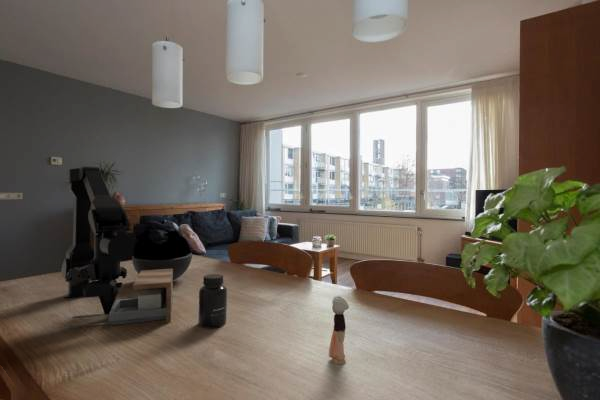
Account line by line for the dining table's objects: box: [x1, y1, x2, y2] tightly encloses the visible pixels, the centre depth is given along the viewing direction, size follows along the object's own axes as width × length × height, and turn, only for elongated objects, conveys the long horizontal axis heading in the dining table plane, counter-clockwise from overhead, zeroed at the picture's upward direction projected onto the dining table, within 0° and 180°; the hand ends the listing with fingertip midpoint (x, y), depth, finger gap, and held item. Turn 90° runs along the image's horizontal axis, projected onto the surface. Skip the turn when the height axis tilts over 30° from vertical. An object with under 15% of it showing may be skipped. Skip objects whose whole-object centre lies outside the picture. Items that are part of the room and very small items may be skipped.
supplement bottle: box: [198, 273, 228, 329], centre depth 80 cm, size 7×7×12 cm
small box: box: [137, 288, 163, 310], centre depth 85 cm, size 6×6×5 cm
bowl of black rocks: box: [131, 229, 193, 281], centre depth 115 cm, size 20×20×19 cm
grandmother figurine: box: [328, 295, 350, 365], centre depth 63 cm, size 8×4×13 cm, turn 5°
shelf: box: [132, 269, 174, 324], centre depth 86 cm, size 15×8×10 cm, turn 20°
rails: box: [61, 312, 109, 330], centre depth 83 cm, size 8×23×1 cm, turn 110°
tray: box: [108, 295, 166, 326], centre depth 85 cm, size 11×13×3 cm
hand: (107, 313), depth 82 cm, fingers closed
